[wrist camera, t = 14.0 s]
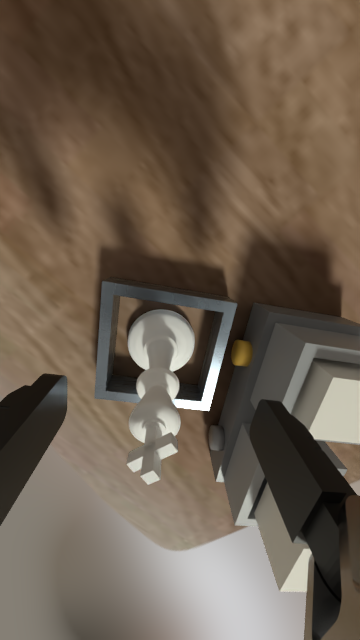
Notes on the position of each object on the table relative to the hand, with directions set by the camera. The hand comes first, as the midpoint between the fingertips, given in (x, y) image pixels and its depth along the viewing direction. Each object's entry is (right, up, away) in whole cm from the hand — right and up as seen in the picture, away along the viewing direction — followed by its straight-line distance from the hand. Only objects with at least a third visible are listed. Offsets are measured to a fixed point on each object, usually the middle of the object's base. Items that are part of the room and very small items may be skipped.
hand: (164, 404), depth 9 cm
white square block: (+9, 0, +5) cm, 10 cm away
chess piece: (-1, +2, +7) cm, 7 cm away
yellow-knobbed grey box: (+8, -3, +9) cm, 12 cm away
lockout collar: (-1, +2, +7) cm, 7 cm away
